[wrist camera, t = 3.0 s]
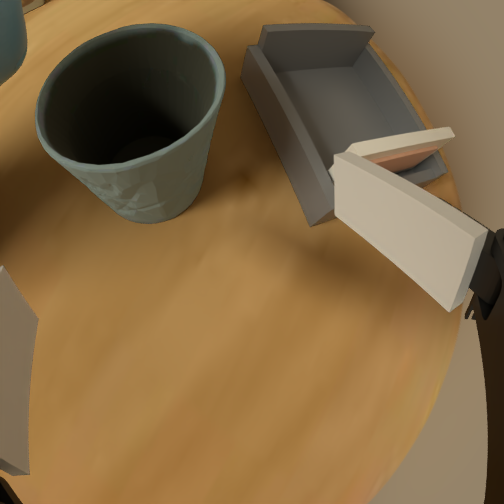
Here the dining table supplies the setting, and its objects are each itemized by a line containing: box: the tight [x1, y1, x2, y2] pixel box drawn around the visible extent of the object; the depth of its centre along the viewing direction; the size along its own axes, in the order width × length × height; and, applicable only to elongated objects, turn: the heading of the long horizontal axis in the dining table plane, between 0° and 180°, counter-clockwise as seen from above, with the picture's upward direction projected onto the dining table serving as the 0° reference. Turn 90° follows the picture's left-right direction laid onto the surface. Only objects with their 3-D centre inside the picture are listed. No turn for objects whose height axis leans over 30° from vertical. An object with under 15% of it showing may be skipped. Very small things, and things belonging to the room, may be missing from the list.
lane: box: [241, 23, 448, 227], centre depth 25 cm, size 16×14×7 cm
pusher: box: [327, 127, 455, 185], centre depth 23 cm, size 1×11×7 cm, turn 111°
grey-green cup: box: [35, 23, 226, 224], centre depth 19 cm, size 10×10×12 cm
